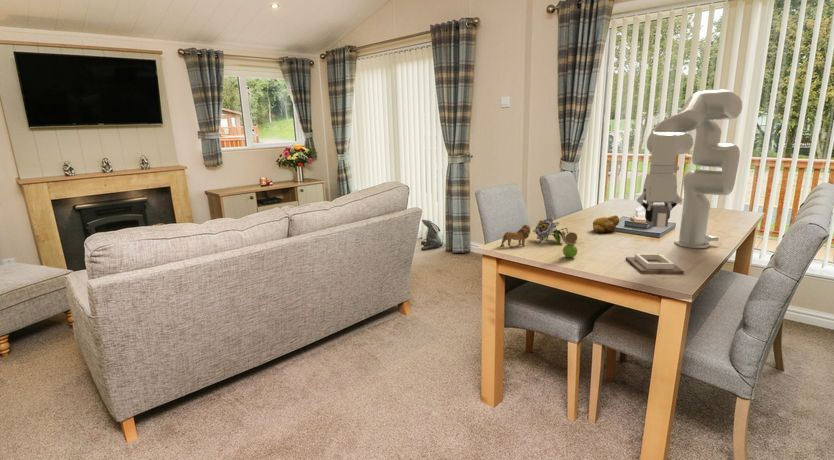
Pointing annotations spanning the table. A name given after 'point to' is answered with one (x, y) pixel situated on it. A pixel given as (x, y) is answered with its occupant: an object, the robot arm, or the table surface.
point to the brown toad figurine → (605, 224)
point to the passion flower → (548, 230)
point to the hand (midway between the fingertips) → (656, 220)
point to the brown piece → (653, 264)
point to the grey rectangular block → (659, 216)
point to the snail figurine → (569, 244)
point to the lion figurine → (517, 235)
